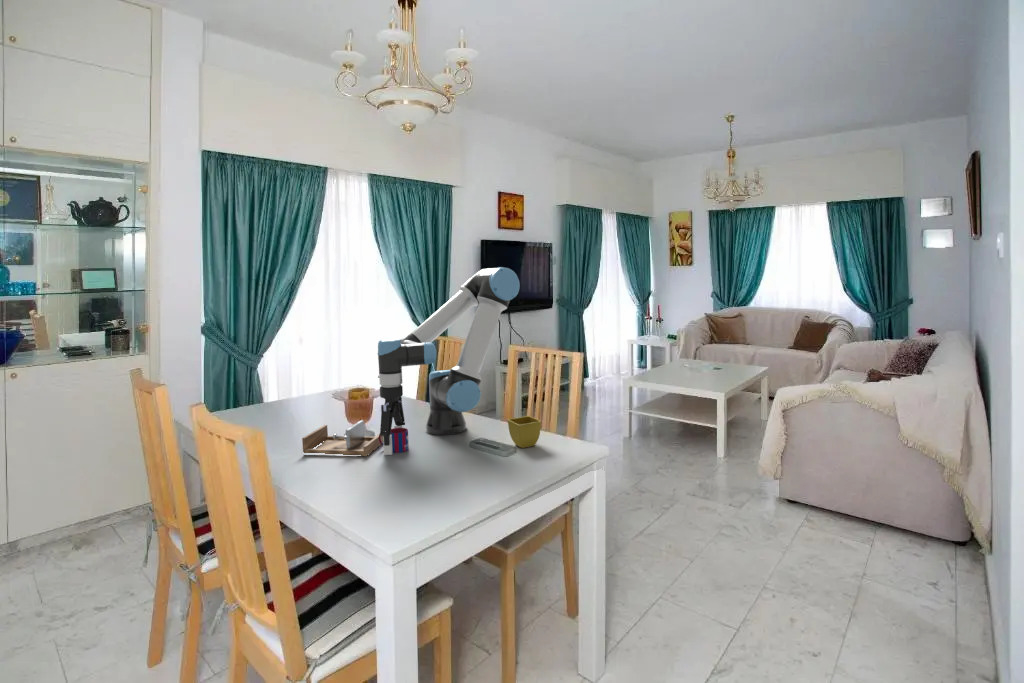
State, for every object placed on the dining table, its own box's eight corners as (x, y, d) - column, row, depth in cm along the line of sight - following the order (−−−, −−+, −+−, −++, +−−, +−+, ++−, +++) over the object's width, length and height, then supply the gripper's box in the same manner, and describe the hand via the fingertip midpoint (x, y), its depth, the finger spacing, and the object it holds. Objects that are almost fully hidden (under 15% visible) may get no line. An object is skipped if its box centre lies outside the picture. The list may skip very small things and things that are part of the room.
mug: (404, 453, 180) (403, 433, 179) (376, 452, 182) (375, 432, 181) (411, 447, 186) (410, 427, 186) (384, 446, 188) (383, 427, 187)
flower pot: (519, 451, 180) (518, 424, 179) (507, 444, 187) (506, 419, 186) (542, 446, 184) (541, 421, 183) (529, 440, 191) (529, 415, 190)
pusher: (364, 440, 192) (363, 420, 191) (350, 451, 179) (349, 430, 179) (342, 439, 193) (341, 420, 192) (326, 450, 180) (325, 429, 180)
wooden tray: (384, 442, 193) (383, 425, 192) (366, 456, 177) (365, 439, 176) (325, 441, 195) (324, 425, 195) (303, 455, 180) (302, 438, 179)
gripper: (391, 378, 193) (394, 438, 196) (367, 392, 171) (370, 460, 173) (412, 378, 192) (414, 439, 195) (390, 392, 170) (393, 460, 172)
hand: (393, 449), depth 184 cm, fingers open, 10 cm apart
